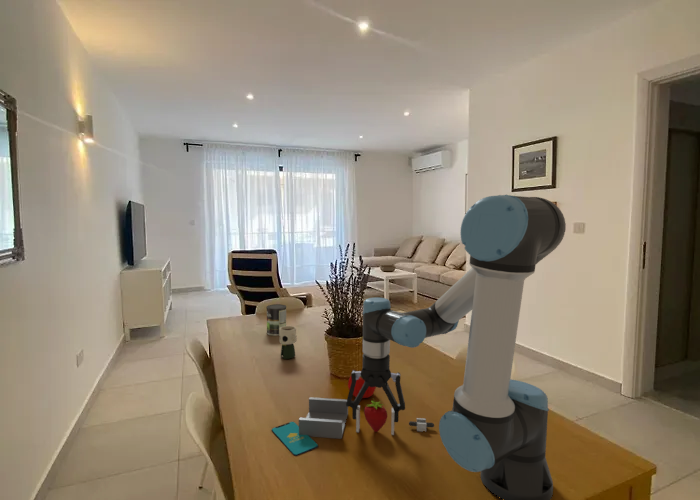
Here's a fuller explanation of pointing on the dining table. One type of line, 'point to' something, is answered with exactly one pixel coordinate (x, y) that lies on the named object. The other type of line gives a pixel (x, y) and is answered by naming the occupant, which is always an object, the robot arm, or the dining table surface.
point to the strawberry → (375, 415)
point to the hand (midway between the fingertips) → (375, 430)
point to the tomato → (359, 385)
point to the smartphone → (294, 438)
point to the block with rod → (421, 424)
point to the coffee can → (275, 318)
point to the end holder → (324, 418)
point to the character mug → (287, 341)
